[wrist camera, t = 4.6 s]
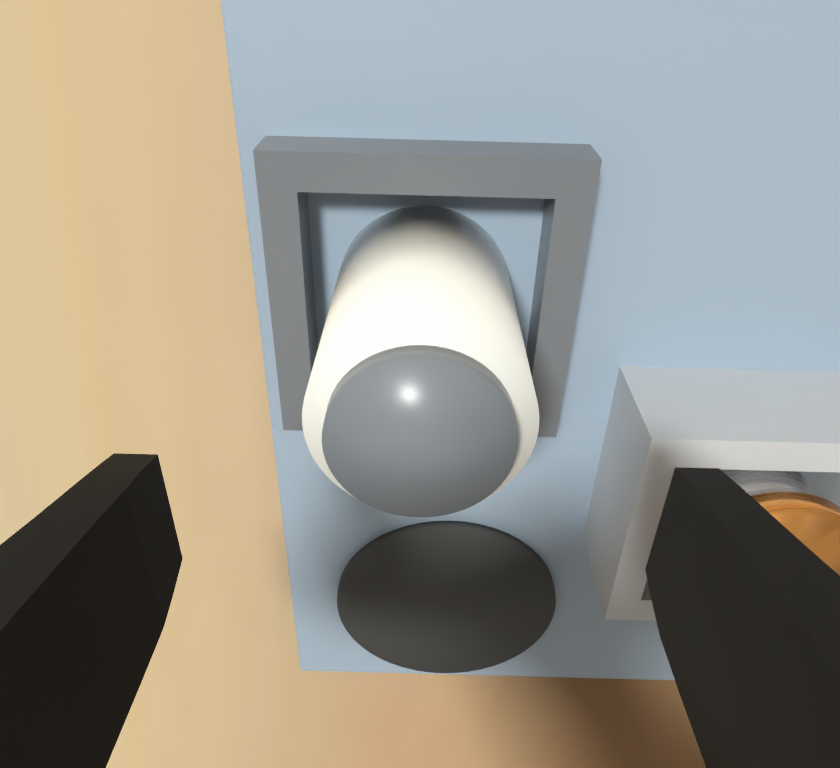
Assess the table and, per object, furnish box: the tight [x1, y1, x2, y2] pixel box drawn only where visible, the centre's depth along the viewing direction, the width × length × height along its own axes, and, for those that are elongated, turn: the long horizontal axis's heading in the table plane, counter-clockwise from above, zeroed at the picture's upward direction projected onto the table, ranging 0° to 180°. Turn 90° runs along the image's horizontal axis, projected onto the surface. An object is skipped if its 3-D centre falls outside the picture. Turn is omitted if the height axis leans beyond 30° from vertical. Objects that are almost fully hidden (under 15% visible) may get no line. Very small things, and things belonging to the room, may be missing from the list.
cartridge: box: [302, 205, 539, 517], centre depth 14 cm, size 4×4×6 cm
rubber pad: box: [337, 521, 556, 673], centre depth 22 cm, size 7×7×1 cm
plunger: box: [720, 469, 840, 575], centre depth 17 cm, size 4×4×4 cm
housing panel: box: [221, 0, 840, 680], centre depth 17 cm, size 16×22×4 cm
